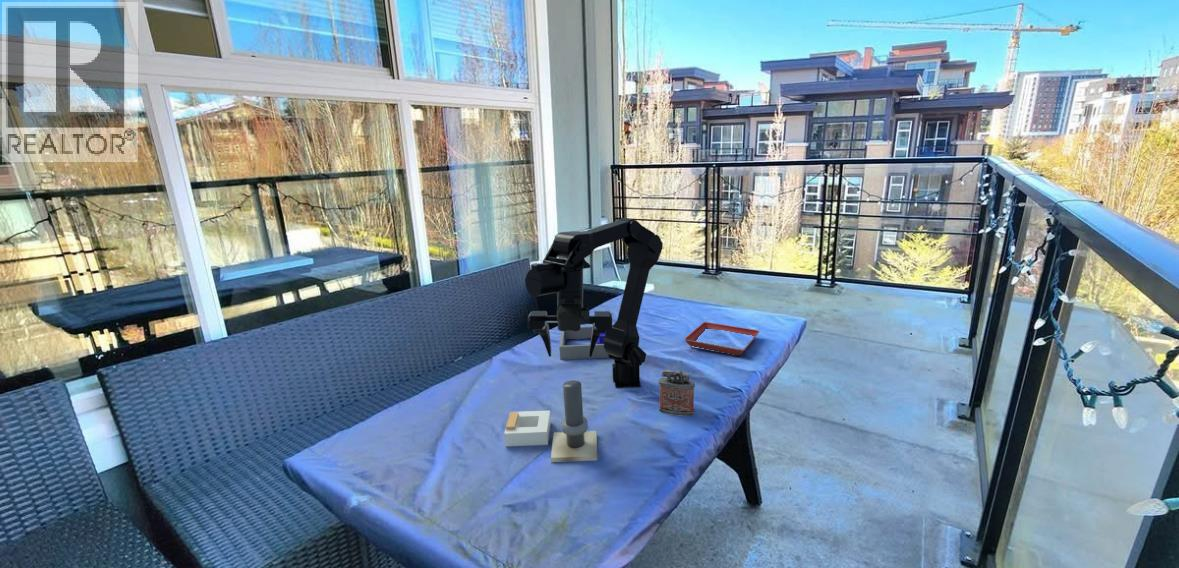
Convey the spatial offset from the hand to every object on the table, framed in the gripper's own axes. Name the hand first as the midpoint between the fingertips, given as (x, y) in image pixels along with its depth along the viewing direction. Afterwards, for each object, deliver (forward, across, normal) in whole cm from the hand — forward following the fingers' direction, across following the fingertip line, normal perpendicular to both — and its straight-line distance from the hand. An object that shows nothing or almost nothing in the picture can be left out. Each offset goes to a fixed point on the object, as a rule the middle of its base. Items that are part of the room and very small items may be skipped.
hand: (570, 356), depth 113 cm
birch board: (+14, +1, -16) cm, 21 cm away
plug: (+13, +2, -15) cm, 20 cm away
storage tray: (+11, +4, +38) cm, 40 cm away
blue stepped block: (+12, +9, +39) cm, 41 cm away
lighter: (+12, +24, -3) cm, 28 cm away
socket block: (+14, -9, -10) cm, 19 cm away
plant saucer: (+10, +45, +37) cm, 60 cm away
